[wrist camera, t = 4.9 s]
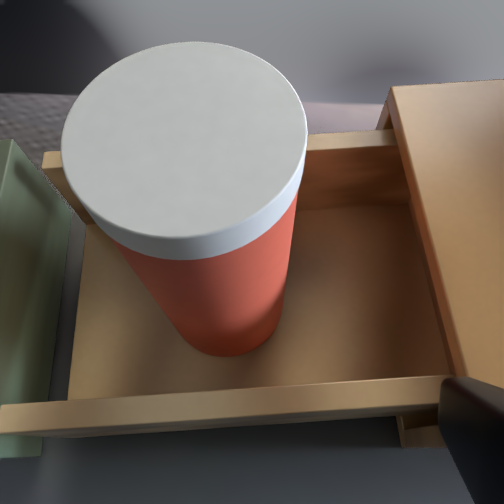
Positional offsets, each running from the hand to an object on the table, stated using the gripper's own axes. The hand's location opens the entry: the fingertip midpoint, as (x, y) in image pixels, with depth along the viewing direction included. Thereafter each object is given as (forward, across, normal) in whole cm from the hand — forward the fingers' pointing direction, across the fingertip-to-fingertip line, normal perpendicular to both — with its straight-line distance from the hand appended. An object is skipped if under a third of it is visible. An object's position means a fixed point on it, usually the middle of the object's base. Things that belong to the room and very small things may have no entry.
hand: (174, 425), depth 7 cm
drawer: (+12, 0, -4) cm, 12 cm away
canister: (+11, 0, -3) cm, 11 cm away
